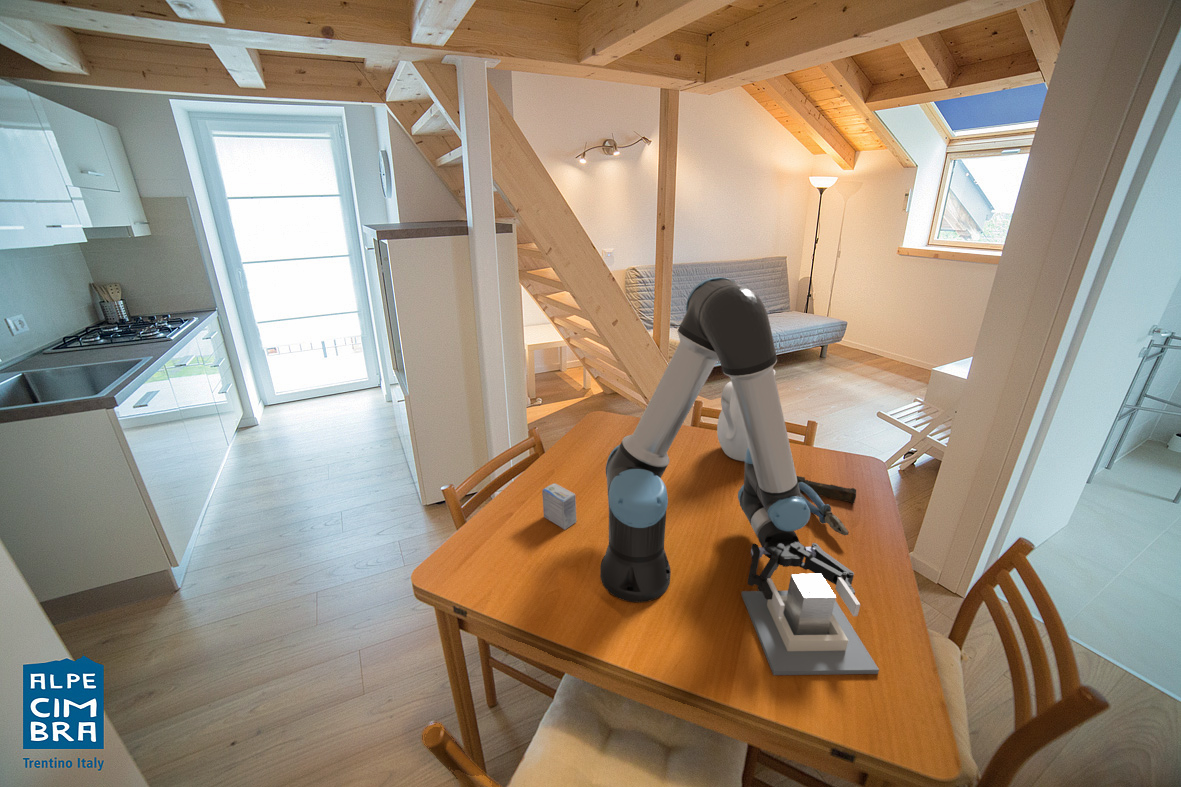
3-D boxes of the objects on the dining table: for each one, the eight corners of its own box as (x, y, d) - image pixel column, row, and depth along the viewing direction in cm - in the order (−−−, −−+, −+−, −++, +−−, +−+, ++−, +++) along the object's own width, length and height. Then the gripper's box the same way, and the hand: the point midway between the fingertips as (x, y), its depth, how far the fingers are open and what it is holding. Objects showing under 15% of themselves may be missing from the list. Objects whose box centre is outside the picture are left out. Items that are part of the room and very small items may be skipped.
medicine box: (577, 522, 121) (576, 493, 118) (564, 530, 118) (563, 501, 115) (555, 510, 126) (554, 481, 123) (543, 517, 123) (541, 489, 120)
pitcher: (733, 436, 165) (742, 359, 154) (779, 453, 153) (792, 372, 143) (691, 460, 150) (698, 376, 139) (739, 481, 138) (750, 392, 128)
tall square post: (795, 639, 87) (804, 596, 83) (783, 615, 92) (791, 573, 88) (825, 639, 87) (836, 596, 83) (812, 614, 92) (821, 573, 88)
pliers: (847, 544, 112) (852, 524, 110) (839, 545, 112) (844, 525, 110) (800, 497, 131) (803, 478, 129) (793, 497, 130) (796, 479, 128)
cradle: (773, 675, 81) (776, 660, 80) (741, 594, 98) (743, 581, 97) (877, 673, 82) (882, 659, 80) (828, 593, 98) (831, 580, 97)
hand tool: (853, 499, 130) (857, 484, 128) (854, 506, 127) (857, 491, 125) (780, 483, 138) (782, 469, 136) (779, 490, 134) (781, 475, 133)
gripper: (827, 546, 105) (884, 625, 85) (716, 547, 105) (746, 627, 85) (834, 517, 102) (894, 593, 82) (719, 519, 102) (751, 595, 82)
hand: (819, 611), depth 84 cm, fingers open, 13 cm apart
